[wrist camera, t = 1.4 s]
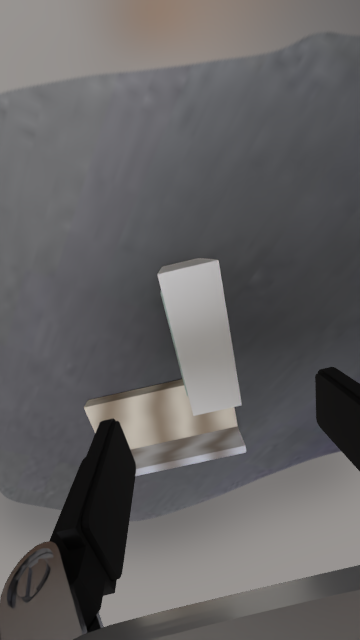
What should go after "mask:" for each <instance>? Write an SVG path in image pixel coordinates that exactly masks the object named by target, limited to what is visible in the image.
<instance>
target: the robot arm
mask: <svg viewBox="0 0 360 640" xmlns="http://www.w3.org/2000/svg"><path fill="white" fill-rule="evenodd" d="M315 380H316V419H317V423H318V425H319V426H320V428H321V429H322V430H323V431H324V432H325V433H326V434H327V436H328V437H329V438H330V439H331V440H332V441H333V442H334V443H335V444H336V446H337V447H338V448H339V449H340V450H341V451H342V452H343V453H344V454H345V455H346V457H347V458H348V459H349V460H350V461H351V462H352V463H353V464H354V465H355V466H356V468H357V469H358V470H359V471H360V384H359V383H357V382H356V381H354V380H353V379H351V378H350V377H348V376H347V375H345V374H344V373H342V372H341V371H339V370H338V369H336V368H334V367H329V368H325V369H321V370H319V371H318V374H316V376H315ZM135 474H136V463H135V460H134V457H133V455H132V452H131V450H130V447H129V445H128V442H127V440H126V437H125V435H124V432H123V430H122V427H121V425H120V422H119V421H115V419H114V418H112V419H108V420H104V421H101V422H100V423H99V426H98V428H97V431H96V433H95V436H94V438H93V441H92V444H91V446H90V449H89V451H88V454H87V456H86V457H85V458H84V459H83V461H82V463H81V465H80V467H79V470H78V472H77V475H76V477H75V479H74V482H73V484H72V487H71V489H70V492H69V494H68V497H67V499H66V502H65V504H64V507H63V509H62V511H61V514H60V516H59V519H58V521H57V524H56V526H55V529H54V531H53V534H52V536H51V539H50V541H49V542H43V543H41V544H39V545H37V546H35V547H34V548H33V549H32V550H30V551H29V552H28V553H27V554H26V555H25V556H24V557H23V558H22V559H21V560H20V561H19V562H18V564H17V565H16V567H15V568H14V569H13V571H12V572H11V574H10V576H9V578H8V579H7V581H6V583H5V586H4V589H3V592H2V594H1V599H0V640H360V565H358V566H354V567H349V568H345V569H341V570H337V571H332V572H328V573H324V574H319V575H315V576H311V577H306V578H302V579H298V580H293V581H289V582H284V583H280V584H276V585H271V586H267V587H263V588H258V589H254V590H250V591H246V592H241V593H237V594H233V595H229V596H225V597H220V598H217V599H212V600H208V601H204V602H199V603H195V604H191V605H187V606H183V607H179V608H174V609H170V610H166V611H162V612H158V613H154V614H151V615H147V616H143V617H140V618H136V619H132V620H128V621H124V622H120V623H117V624H113V625H109V626H107V627H104V626H103V624H102V621H101V618H100V615H99V610H100V608H101V603H102V597H103V596H104V595H108V594H112V593H115V587H116V580H117V579H119V578H120V577H121V574H122V569H123V562H124V554H125V547H126V540H127V533H128V525H129V518H130V511H131V503H132V496H133V489H134V482H135Z"/></svg>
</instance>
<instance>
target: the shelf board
mask: <svg viewBox="0 0 360 640" xmlns="http://www.w3.org/2000/svg"><path fill="white" fill-rule="evenodd" d="M84 409H85V412H86V414H87V416H88V418H89V420H90V423H91V425H92V427H93V429H94V431H95V433H96V431H97V428H98V426H99V423H100V422H101V421H104V420H108V419H112V418H114V419H115V421H119V422H120V425H121V427H122V430H123V432H124V435H125V437H126V440H127V442H128V445H129V447H130V450H131V452H132V455H133V457H134V460H135V463H136V474H135V476H138V475H143V474H148V473H152V472H157V471H162V470H166V469H171V468H176V467H180V466H185V465H190V464H194V463H199V462H203V461H208V460H213V459H217V458H222V457H227V456H231V455H236V454H241V453H245V452H246V447H245V444H244V441H243V439H242V436H241V434H240V431H239V429H238V426H237V420H236V414H235V409H234V407H232V408H227V409H223V410H218V411H214V412H209V413H205V414H200V415H196V416H193V412H192V408H191V404H190V401H189V397H188V396H187V394H186V390H185V386H184V382H183V379H181V380H176V381H172V382H167V383H163V384H158V385H154V386H149V387H145V388H140V389H136V390H131V391H127V392H123V393H118V394H114V395H109V396H105V397H100V398H96V399H91V400H88V401H87V403H86V405H85V406H84Z"/></svg>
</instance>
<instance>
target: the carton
mask: <svg viewBox="0 0 360 640" xmlns="http://www.w3.org/2000/svg"><path fill="white" fill-rule="evenodd" d="M157 275H158V279H159V283H160V287H161V292H160V293H161V297H162V301H163V305H164V309H165V313H166V316H167V320H168V324H169V328H170V332H171V336H172V340H173V344H174V348H175V351H176V355H177V359H178V363H179V367H180V371H181V375H182V379H183V382H184V386H185V390H186V394H187V396H188V397H189V401H190V404H191V408H192V412H193V416H196V415H200V414H205V413H209V412H214V411H218V410H223V409H227V408H232V407H237V406H241V405H242V403H241V397H240V391H239V385H238V379H237V372H236V366H235V360H234V354H233V347H232V341H231V335H230V329H229V322H228V316H227V310H226V304H225V298H224V291H223V285H222V279H221V273H220V266H219V260H215V259H205V258H197V259H192V260H188V261H184V262H180V263H175V264H171V265H167V266H163V267H162V268H161V269H160V271H159V272H158V274H157Z"/></svg>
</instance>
